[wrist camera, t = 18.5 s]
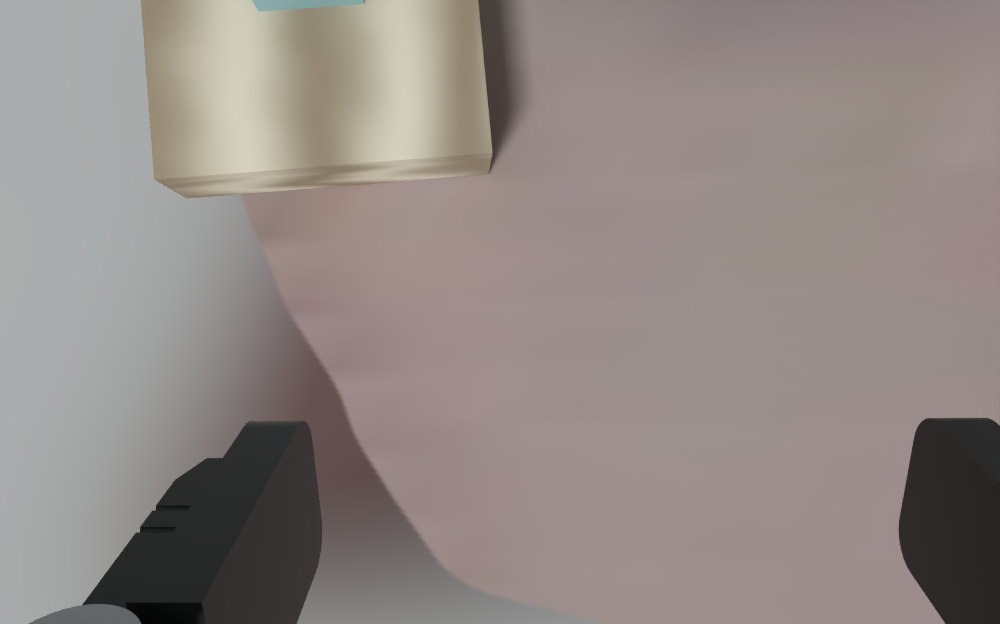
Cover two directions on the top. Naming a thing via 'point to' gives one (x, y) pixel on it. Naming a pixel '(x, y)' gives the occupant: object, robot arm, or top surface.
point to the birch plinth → (314, 94)
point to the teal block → (300, 4)
